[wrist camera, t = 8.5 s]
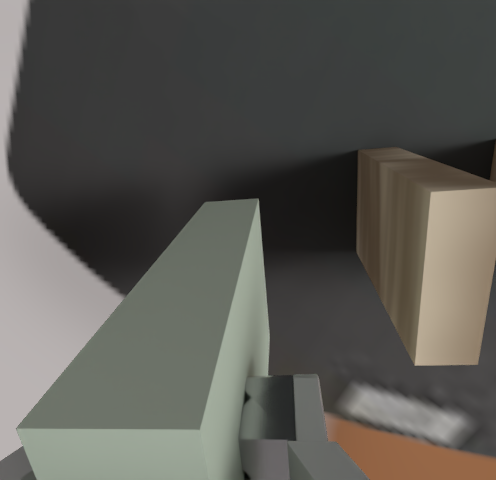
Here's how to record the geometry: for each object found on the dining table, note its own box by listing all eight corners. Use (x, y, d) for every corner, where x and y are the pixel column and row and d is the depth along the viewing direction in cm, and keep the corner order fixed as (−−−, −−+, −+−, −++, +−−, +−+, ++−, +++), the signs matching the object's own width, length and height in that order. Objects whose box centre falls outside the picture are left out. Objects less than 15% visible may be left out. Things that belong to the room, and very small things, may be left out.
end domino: (223, 338, 15) (130, 706, 6) (205, 202, 13) (15, 428, 4) (269, 336, 15) (251, 719, 6) (258, 198, 13) (199, 429, 4)
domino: (356, 251, 21) (414, 365, 12) (358, 150, 19) (431, 192, 10) (390, 249, 21) (477, 364, 12) (396, 146, 19) (508, 187, 10)
